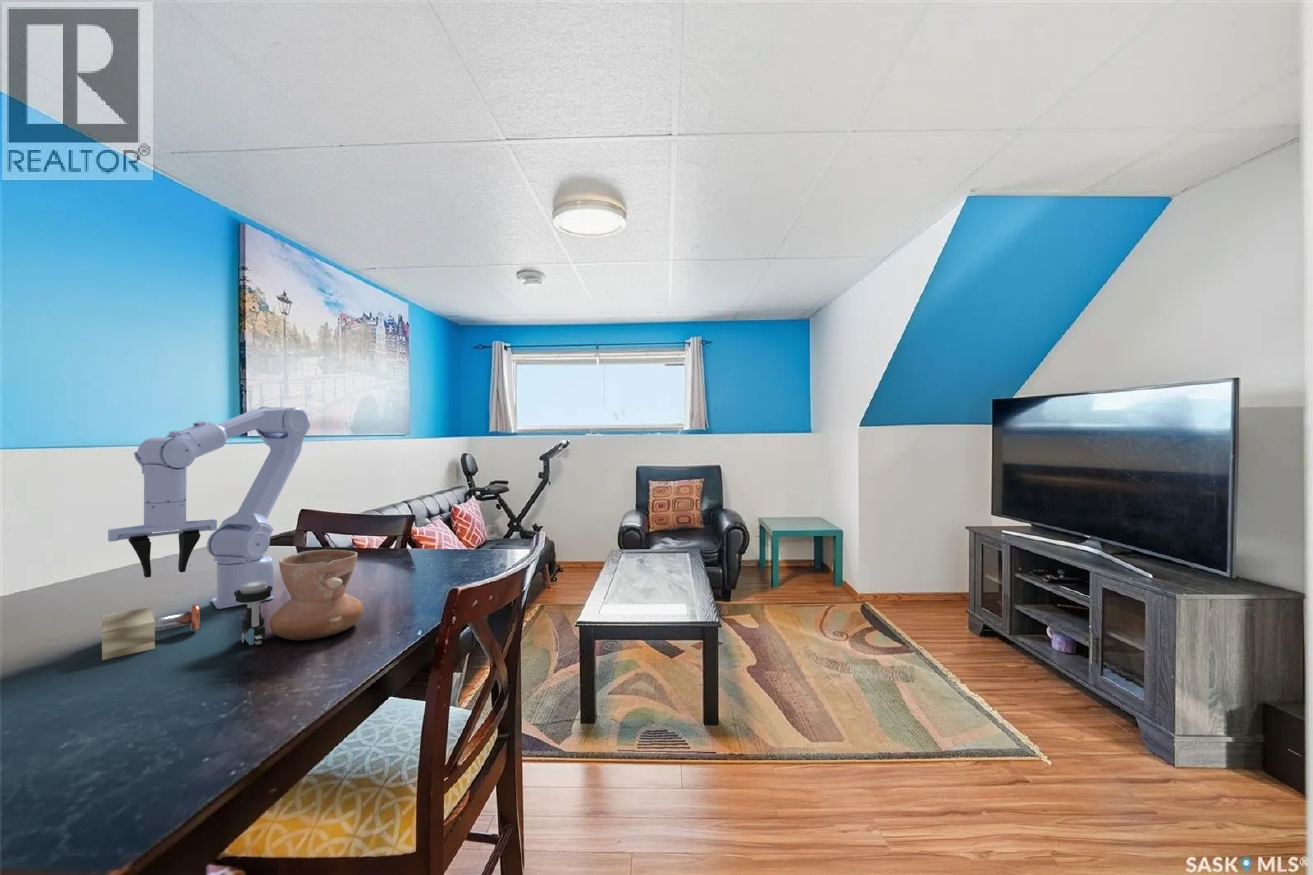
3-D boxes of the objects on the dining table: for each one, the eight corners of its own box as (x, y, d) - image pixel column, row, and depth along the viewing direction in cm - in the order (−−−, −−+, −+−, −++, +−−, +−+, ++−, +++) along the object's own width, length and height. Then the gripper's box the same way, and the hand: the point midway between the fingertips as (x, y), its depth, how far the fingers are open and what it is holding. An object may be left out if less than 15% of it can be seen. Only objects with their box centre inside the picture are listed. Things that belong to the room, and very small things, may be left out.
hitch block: (150, 632, 93) (150, 607, 93) (154, 648, 86) (154, 621, 86) (101, 642, 88) (101, 615, 88) (102, 660, 81) (102, 631, 81)
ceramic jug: (378, 632, 94) (380, 555, 95) (285, 657, 83) (286, 570, 83) (342, 611, 106) (343, 542, 106) (255, 630, 95) (257, 554, 95)
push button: (277, 642, 89) (278, 585, 89) (238, 652, 85) (239, 592, 85) (267, 632, 94) (268, 578, 94) (230, 640, 90) (231, 584, 89)
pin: (196, 624, 95) (196, 601, 95) (200, 631, 92) (200, 607, 92) (101, 643, 86) (101, 618, 86) (102, 651, 83) (102, 624, 83)
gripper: (211, 495, 103) (210, 562, 104) (106, 502, 92) (105, 577, 92) (219, 499, 99) (219, 568, 99) (110, 507, 88) (110, 585, 88)
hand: (165, 573), depth 95 cm, fingers open, 4 cm apart
